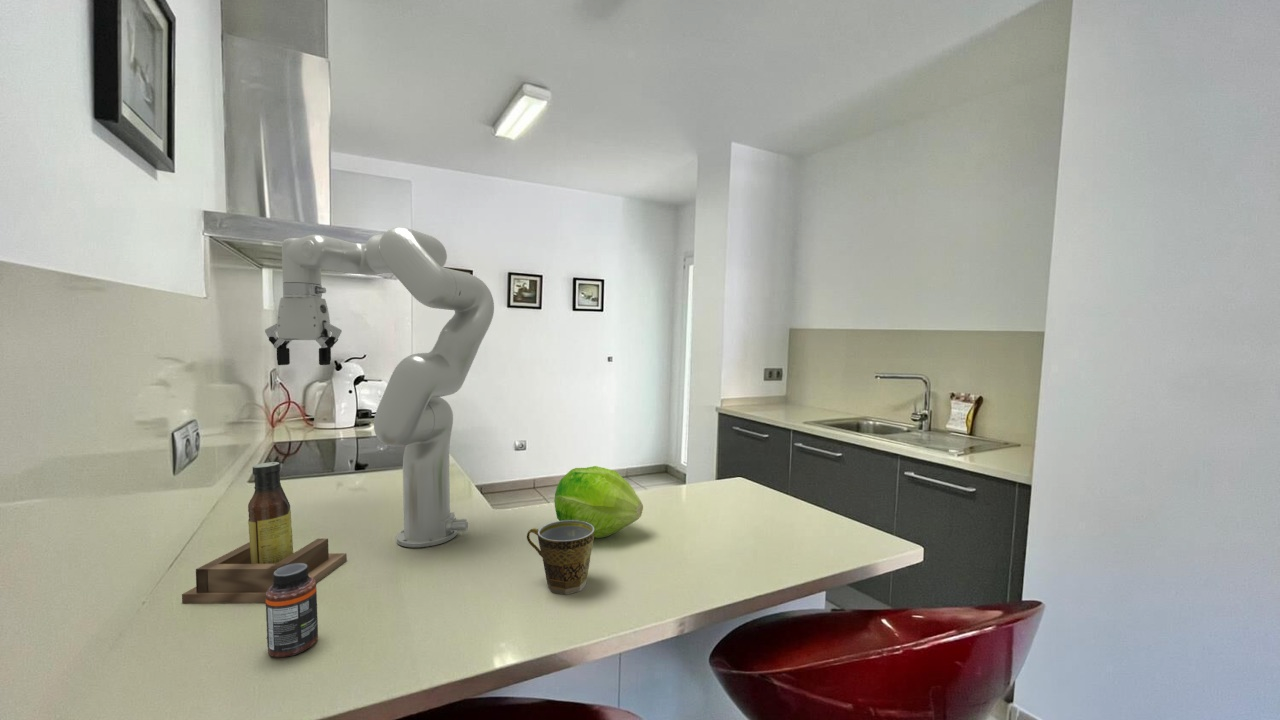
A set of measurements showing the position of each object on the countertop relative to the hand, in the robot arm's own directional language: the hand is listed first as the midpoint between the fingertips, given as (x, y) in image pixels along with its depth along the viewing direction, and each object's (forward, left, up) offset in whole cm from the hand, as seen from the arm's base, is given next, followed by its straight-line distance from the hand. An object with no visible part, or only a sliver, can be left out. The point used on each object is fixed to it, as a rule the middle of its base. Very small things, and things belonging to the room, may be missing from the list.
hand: (304, 364), depth 117 cm
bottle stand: (-12, +28, -38) cm, 49 cm away
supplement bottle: (-30, +48, -39) cm, 68 cm away
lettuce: (-70, +7, -39) cm, 80 cm away
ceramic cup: (-65, +30, -39) cm, 81 cm away
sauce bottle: (-12, +28, -37) cm, 48 cm away
